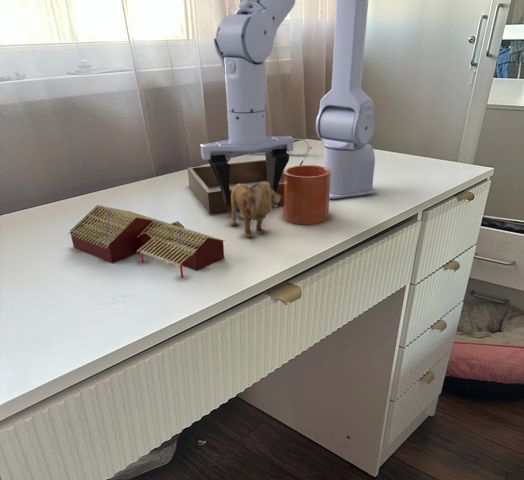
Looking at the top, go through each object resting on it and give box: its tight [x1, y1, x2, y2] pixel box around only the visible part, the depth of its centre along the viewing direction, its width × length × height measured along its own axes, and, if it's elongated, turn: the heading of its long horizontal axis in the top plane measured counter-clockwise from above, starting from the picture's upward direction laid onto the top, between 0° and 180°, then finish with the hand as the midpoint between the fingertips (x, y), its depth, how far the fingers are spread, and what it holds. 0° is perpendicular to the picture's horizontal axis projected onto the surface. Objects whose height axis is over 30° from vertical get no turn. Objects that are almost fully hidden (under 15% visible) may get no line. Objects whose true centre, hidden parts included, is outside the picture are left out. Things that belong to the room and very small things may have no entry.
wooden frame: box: [187, 159, 284, 215], centre depth 101 cm, size 18×19×4 cm
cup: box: [283, 164, 331, 226], centre depth 88 cm, size 8×8×8 cm
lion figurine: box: [226, 181, 281, 239], centre depth 84 cm, size 15×5×9 cm, turn 32°
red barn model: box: [67, 204, 226, 279], centre depth 77 cm, size 22×13×5 cm, turn 51°
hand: (249, 200), depth 84 cm, fingers open, 7 cm apart
